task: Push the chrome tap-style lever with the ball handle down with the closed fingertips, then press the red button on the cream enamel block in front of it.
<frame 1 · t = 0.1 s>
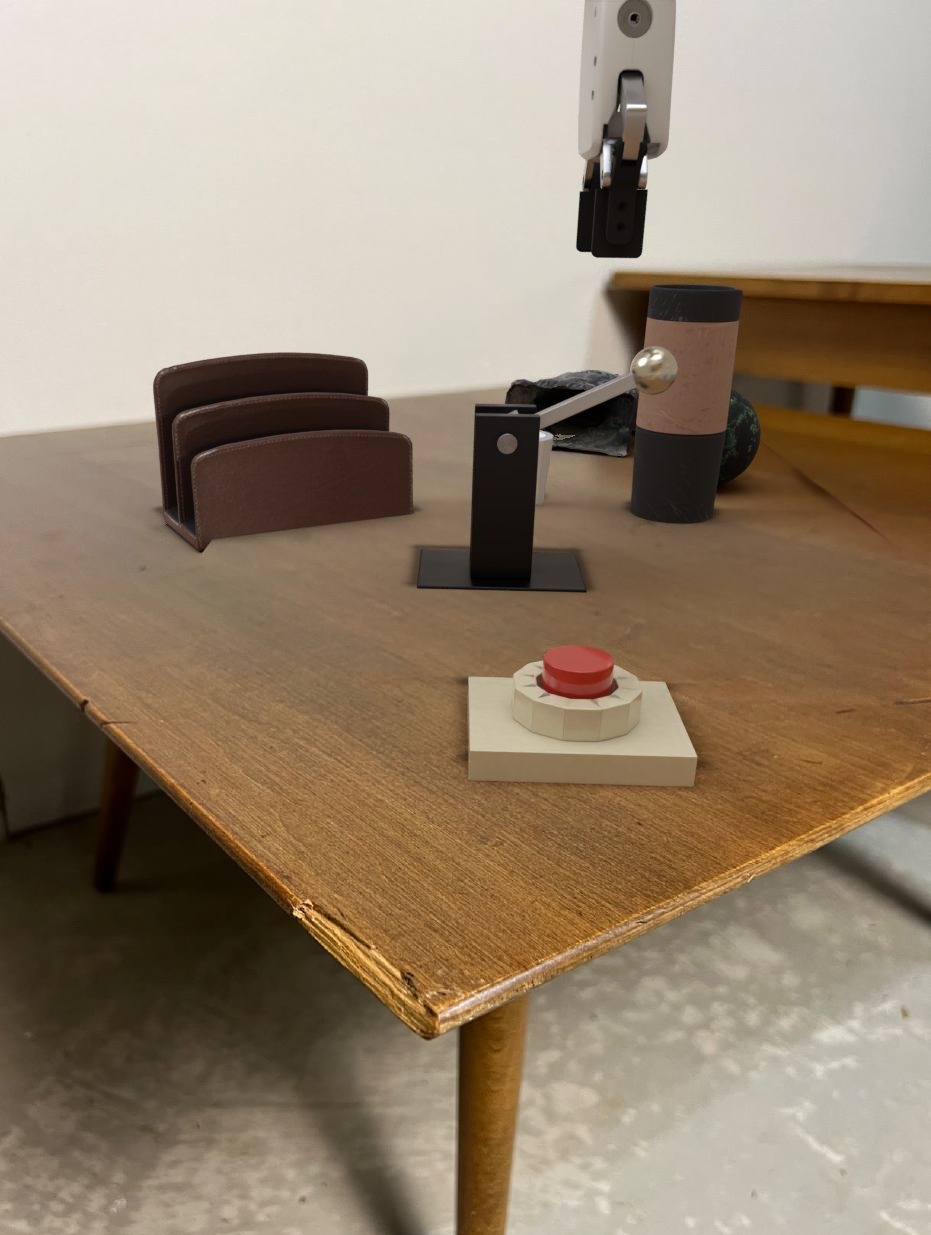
hand: (606, 254, 73), 23 cm above the table, tool pointing down, fingers open, 9 cm apart
decorative stone: (702, 487, 110), on the table
letter holder: (289, 526, 94), on the table
sculpture: (599, 432, 136), on the table
travel mug: (669, 525, 96), on the table
shot glass: (512, 510, 100), on the table
button block: (572, 742, 56), on the table
button: (577, 673, 55), point 4 cm above the table, slide at 0.1 cm
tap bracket: (498, 583, 80), on the table
lever: (579, 402, 75), point 13 cm above the table, hinge at 25.0°
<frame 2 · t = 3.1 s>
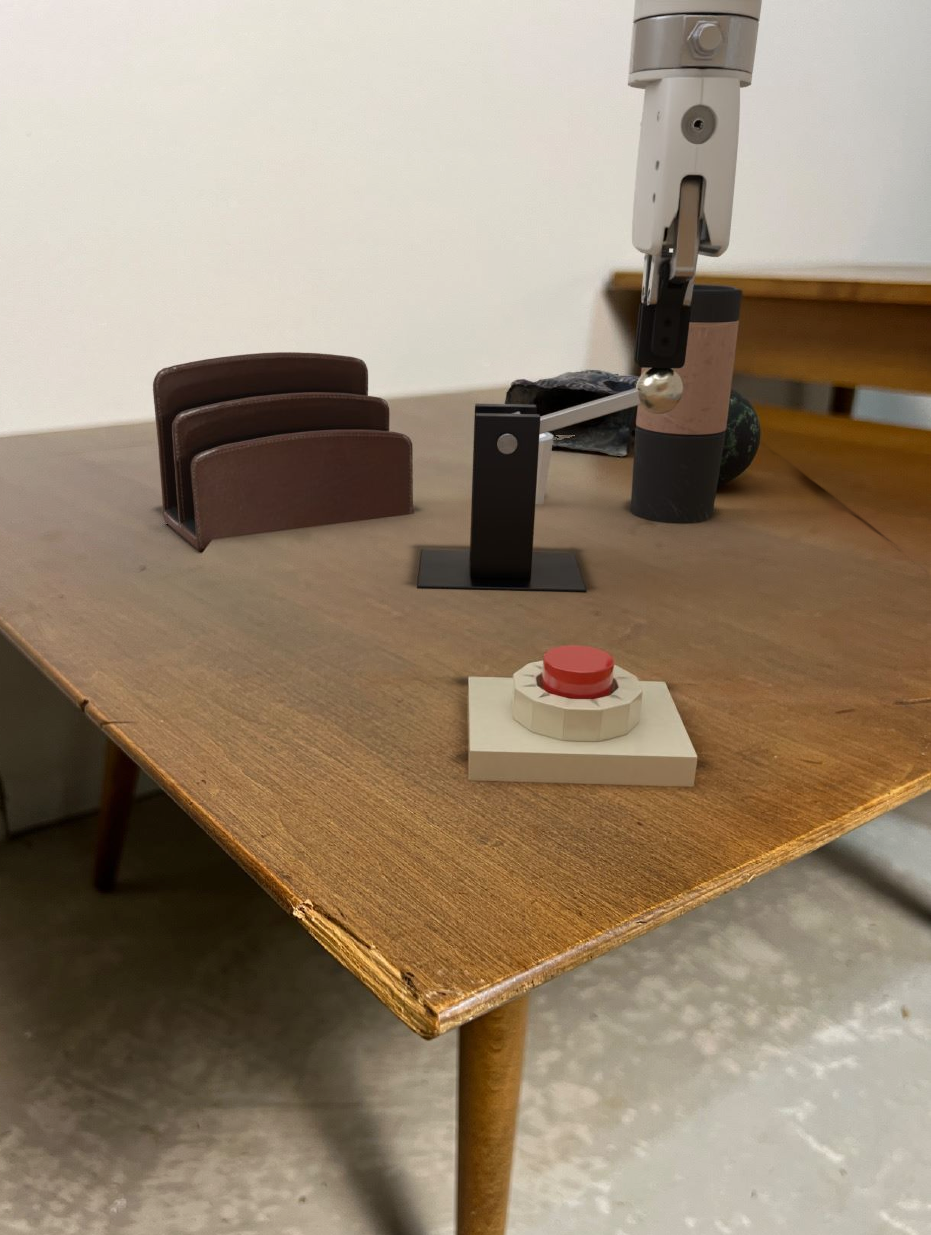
hand: (658, 365, 73), 16 cm above the table, tool pointing down, fingers closed
lever: (582, 412, 75), point 13 cm above the table, hinge at 17.7°, touching gripper
everything else where it was.
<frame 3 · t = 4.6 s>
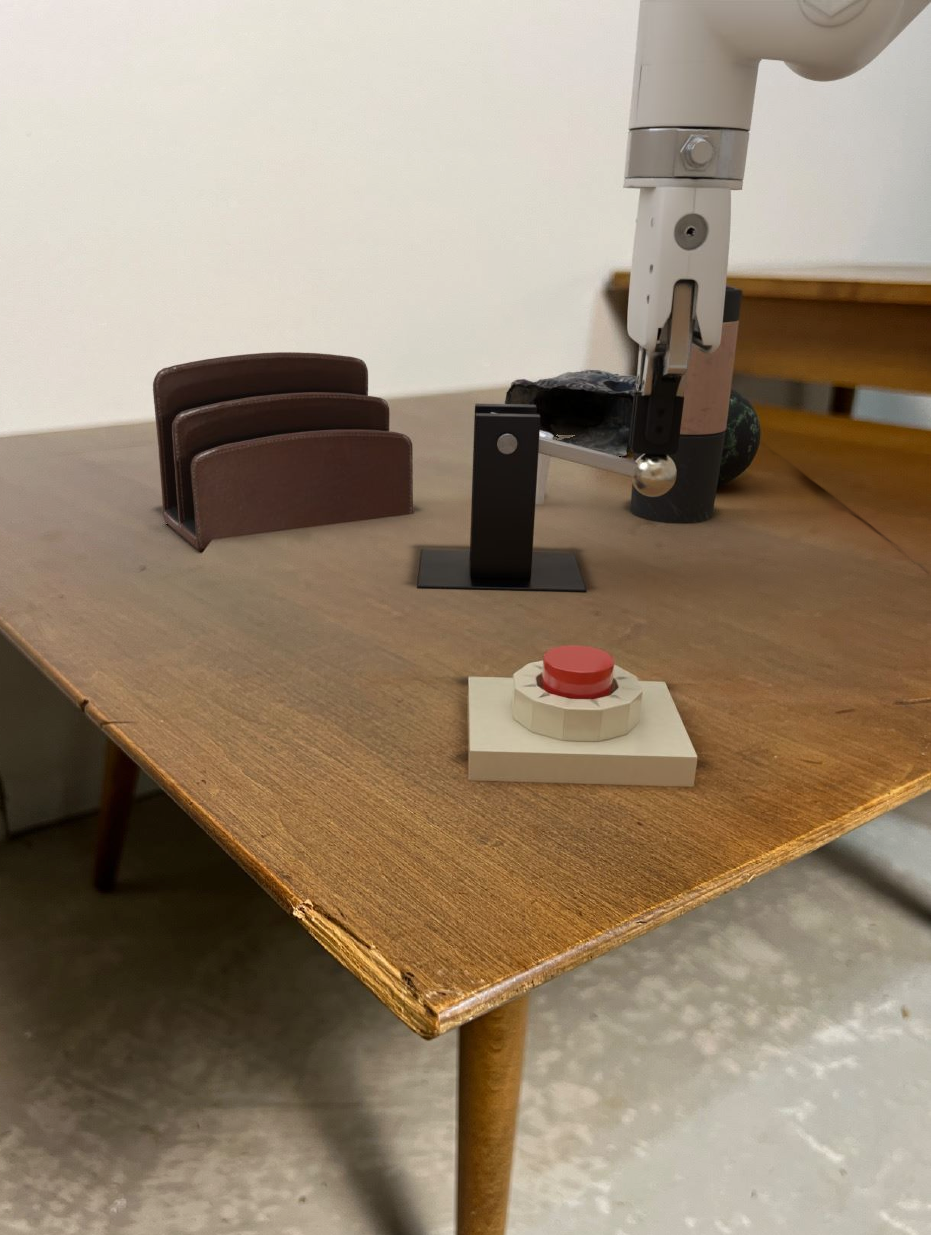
hand: (652, 451, 76), 10 cm above the table, tool pointing down, fingers closed
lever: (581, 455, 76), point 10 cm above the table, hinge at -13.2°, touching gripper
everything else where it was.
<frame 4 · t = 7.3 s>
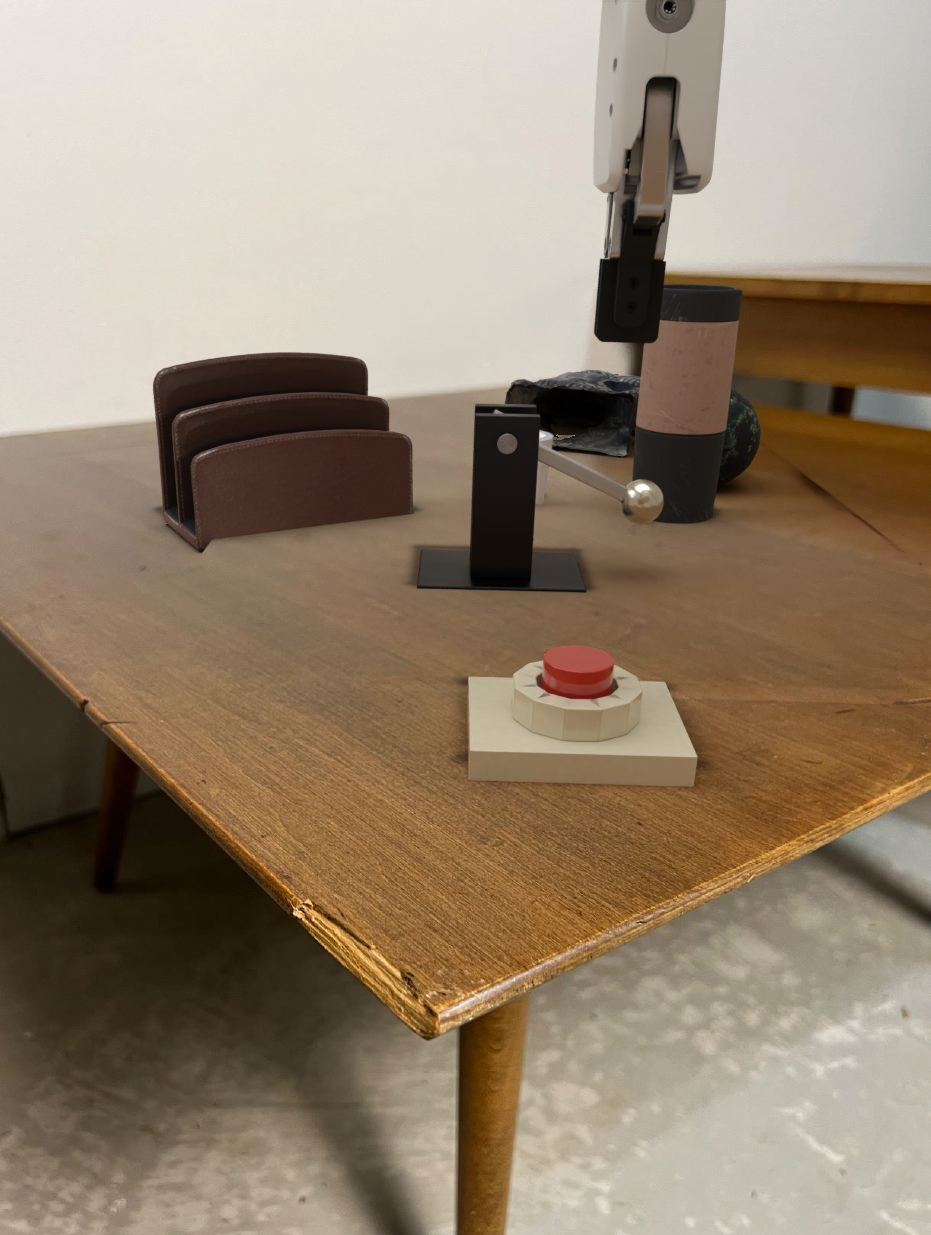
hand: (624, 340, 57), 19 cm above the table, tool pointing down, fingers closed
lever: (575, 469, 76), point 9 cm above the table, hinge at -24.4°
everything else where it was.
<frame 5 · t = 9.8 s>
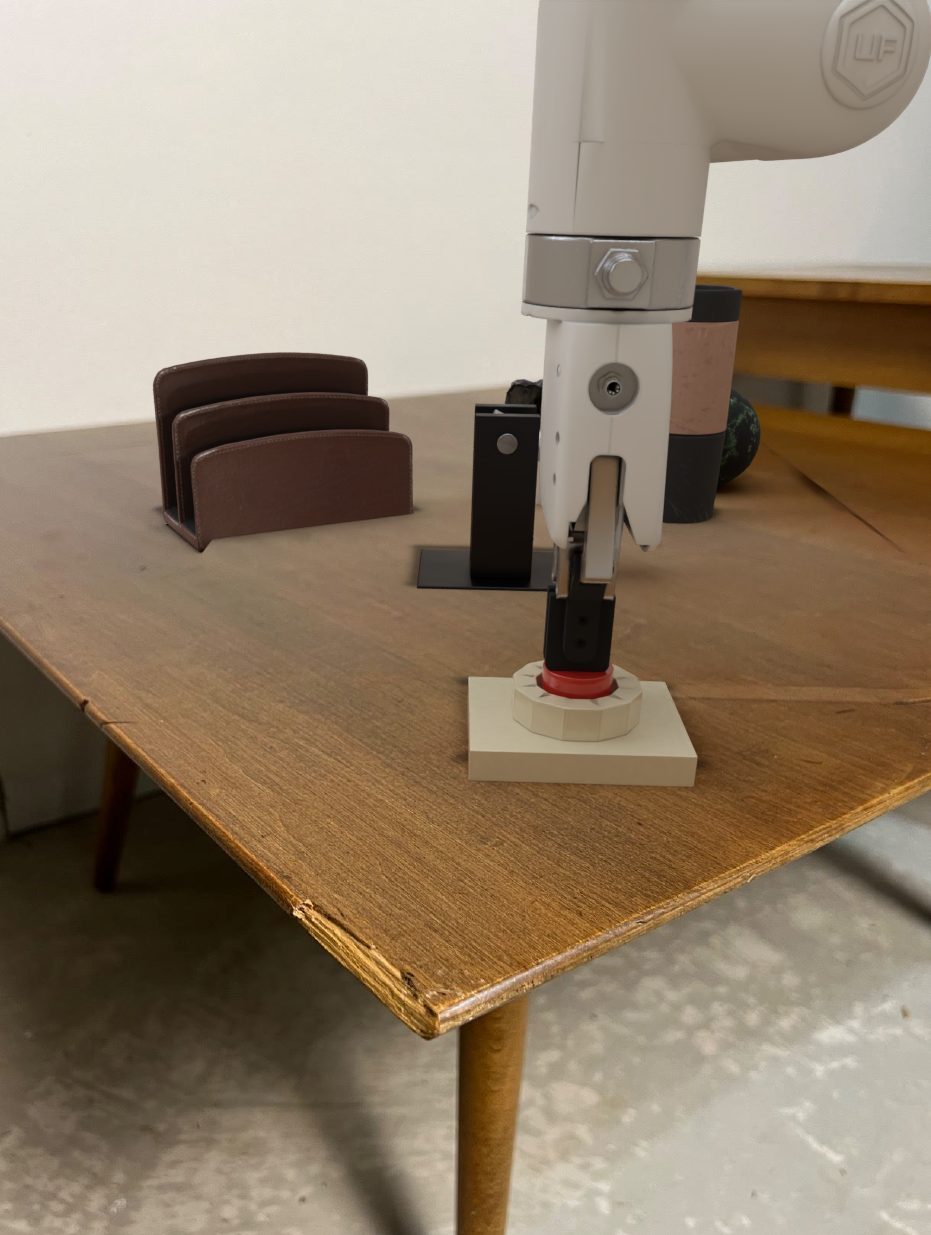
hand: (575, 664, 54), 4 cm above the table, tool pointing down, fingers closed
button: (577, 680, 55), point 4 cm above the table, slide at -0.3 cm, touching gripper
everything else where it was.
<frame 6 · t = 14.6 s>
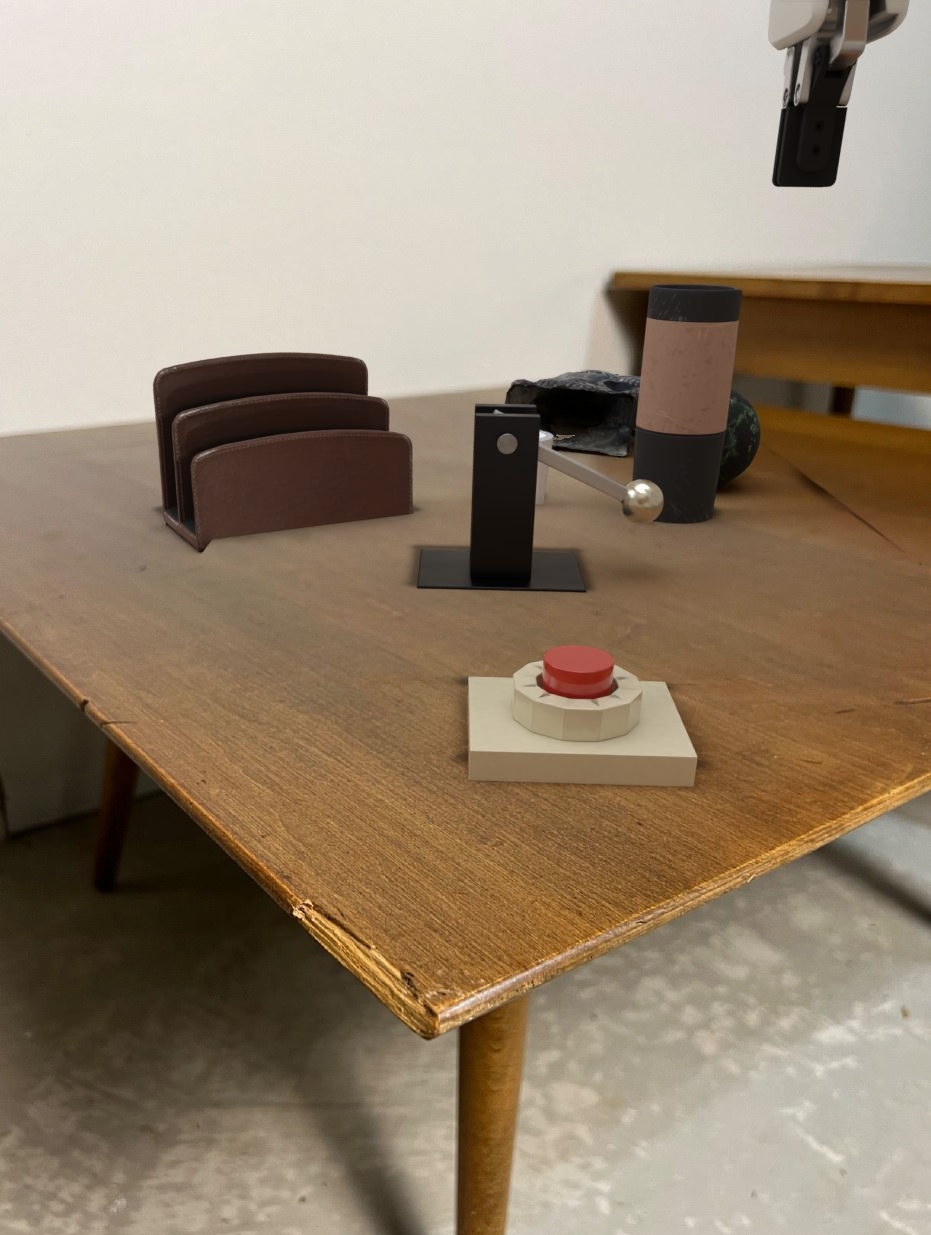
hand: (802, 185, 61), 27 cm above the table, tool pointing down, fingers closed
button: (577, 673, 55), point 4 cm above the table, slide at 0.1 cm
everything else where it was.
at the end: lever at -24° (first picture: +25°); button pushed in 1.1 cm at the most during the clip, back to where it started at the end; button slide at 0.1 cm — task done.
